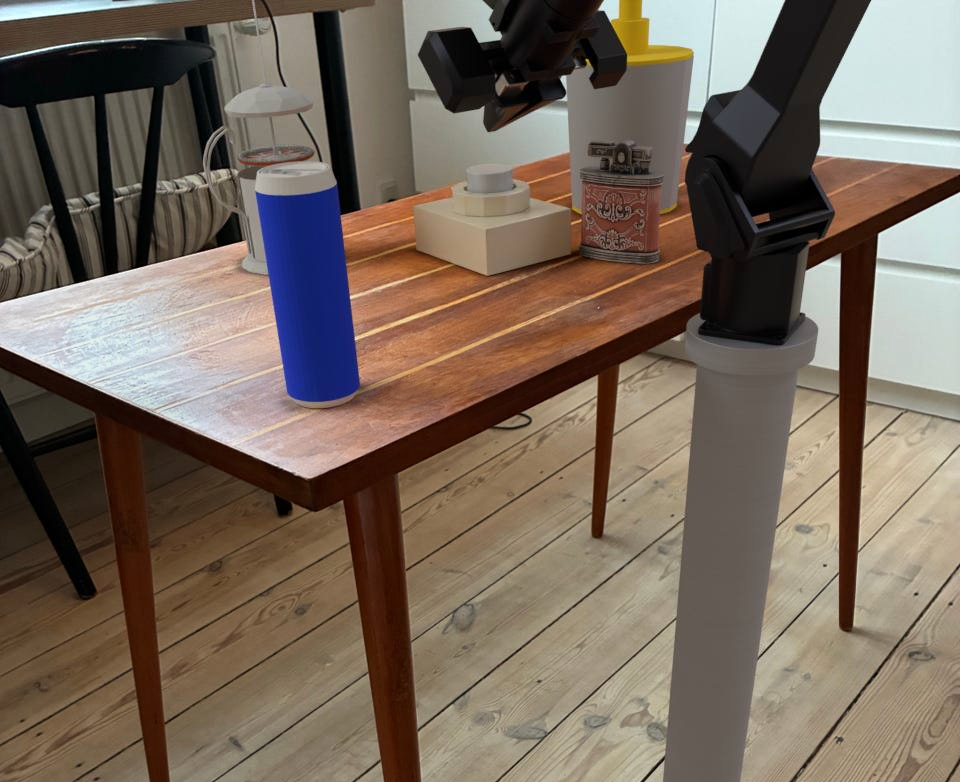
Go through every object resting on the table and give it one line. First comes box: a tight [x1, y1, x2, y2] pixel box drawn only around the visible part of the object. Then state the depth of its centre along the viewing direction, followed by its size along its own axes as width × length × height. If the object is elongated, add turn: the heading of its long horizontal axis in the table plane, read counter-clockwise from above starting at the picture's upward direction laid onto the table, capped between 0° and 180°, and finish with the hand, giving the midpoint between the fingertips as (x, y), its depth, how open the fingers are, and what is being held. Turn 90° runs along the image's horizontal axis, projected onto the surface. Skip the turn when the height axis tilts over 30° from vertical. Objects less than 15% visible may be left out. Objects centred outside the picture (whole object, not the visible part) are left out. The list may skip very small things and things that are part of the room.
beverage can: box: [255, 160, 361, 409], centre depth 69 cm, size 5×5×15 cm
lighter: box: [578, 140, 664, 265], centre depth 95 cm, size 8×3×10 cm, turn 58°
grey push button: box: [465, 163, 514, 194], centre depth 97 cm, size 4×4×2 cm
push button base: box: [412, 178, 572, 277], centre depth 100 cm, size 12×10×6 cm
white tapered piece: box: [565, 0, 695, 215], centre depth 108 cm, size 13×13×21 cm
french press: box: [202, 0, 315, 276], centre depth 94 cm, size 10×12×25 cm
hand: (488, 127), depth 95 cm, fingers closed
